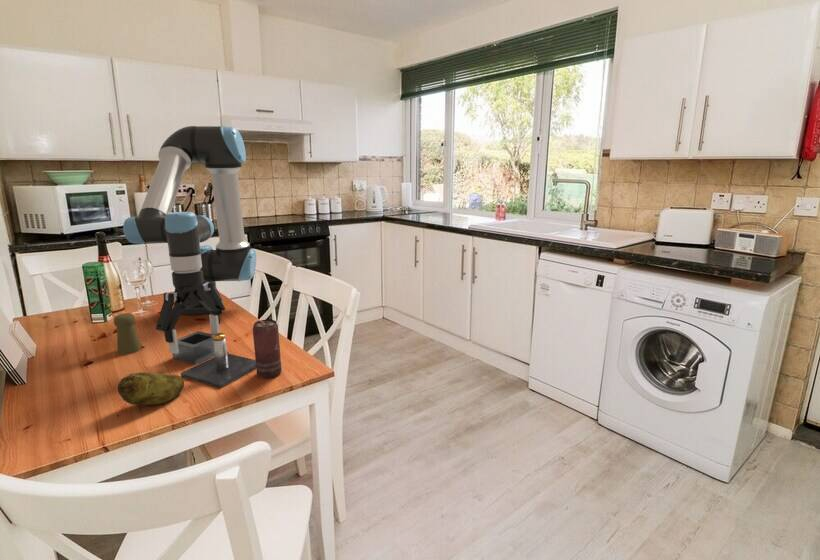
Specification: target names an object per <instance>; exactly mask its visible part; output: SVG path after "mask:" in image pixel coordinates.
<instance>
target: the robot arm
mask: <svg viewBox="0 0 820 560" xmlns="http://www.w3.org/2000/svg"><path fill="white" fill-rule="evenodd" d="M246 155H247V152H246V147H245V143H244V139H243V137H242V135H241V133H240V131H239V130H238V129H237V128H235V127H234V126H223V125H219V126H214V125H212V126H210V125H208V126H206V125H205V126H203V125H202V126H198V125H197V126H196V125H191V126H185V127H182V128H179V129H178V130H176V131H175V132H173V133H172V134H171V135H169V136H168V137H167V138H166V139H165V140H164V141H163V143H162V144H161V146H160V149H159V151H158V155H157V156H158V160H159V162H158V164H157V167H156V170H155V171H154V175H153V176H152V180H151V182H150V185H149V188H148V190H147V193H146V195H145V198H144V201H143V203H142V206H141V208H140V210H139V213H138V216H128V217H127V218H126V219H124V221H123V227H122V230H123V234H124V236H125V237H124V238H125V239H126V240H127V241H128V242H129V243H131V244H140V245H147V244H148V245H149V244H152V245H153V244H167V248H168V256H169V264H170V270H171V271H172V273H171V279H172V284H173V287H174V290H173V291H174V292H164V293H163V303H162V305H161V309H160V312H159V316H158V320H157V323H156V326H155V329H156V331H157V330H158V331H161V332H164V338H165V339H164V340H165V342H166V343H167V344H168V348H169V349H168V351H169V353H171V354H172V353H174V354H178V353H179V348H178V341H177V339H178V335H177V334H178V333H177V330H176V329H175V326H176V325H177V322H178V321H179V319H180V317H181V315H182V314H183V315H186V316H187V315H190V316H195V315H206V314H209V316H208V317H209V327H210V334H213V335H214V334H217V333H221V332H220V324H221V318H220V317H221V316H222V314H223V311H225V310H226V307H225V305H224V301H223V298H222V297H221V294H220V292H219V290H218V289H217V283H216V282H241V281H243V282H244V281H250V280H252V278H254V275H255V272H256V267H257V251H256V249H254V248H251V245H250V242H248V240H246V239H245V238H246V237H245V229H244V219H243V211H242V202H241V201H242V200H241V193H240V192H241V191H240V184H239V183H240V182H239V174H238V173H239V171H240V170H241V169H242V164H243V163H245V162H246V160H247V156H246ZM194 163H204V167H205V170H207V172H209V173H210V176H211V177H210V178H211V183H212V184H211V186H212V192H213V199H214V209H215V215H216V224H217V225H216V226H217V231H218V237H219V241H218V243H217V244H215V249H213V247H212V246H211V245H210V244H209V245H208V244H205V245H204V244H203V245H200V243H204V242H207V240H209V239H210V238H211V237H212V236H213V235H214V231H215V225H214V223H213V221H212V220H211V219H210V218H209V217H207V216H205V215H202V214H201V215H198V214H195V212H193V211H175V212H172V211H173V207H174V205H175V202H176V199H177V195H178V194H179V190H180V187H181V184H182V181H183V178H184V175H185V172H186V171H187V170H188V169H189V168H190V167H191V165H192V164H194Z"/></svg>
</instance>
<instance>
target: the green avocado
mask: <svg viewBox="0 0 820 560" xmlns="http://www.w3.org/2000/svg"><path fill="white" fill-rule="evenodd" d="M184 387H185V381H184V377H181V375H178V374H173V373H159V372H157V373H156V372H150V371H149V372H148V371H137V372H132V373H130V374H128V375H126V376H125V377H123V378H121V379H120V381H119V382H118V385H117V392H118V395H119V396H120V397H121V399H122V400H123V401H125V402H126V403H129V404H130V405H134V406H135V405H136V406H137V405H149V406H150V405H151V406H156V405H161V404H164V403H167V402H169V401H171V400H173V399H175V398H176V397H177V396H178V395H180V394H181V392H182V391H183V390H184V389H185V388H184Z"/></svg>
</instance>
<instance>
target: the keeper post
mask: <svg viewBox="0 0 820 560" xmlns="http://www.w3.org/2000/svg"><path fill="white" fill-rule="evenodd" d="M213 344H214V352H215V356H213V357H211V358H209V359H207V360H205V361H203V362H200V363H198V364H196V365H195V366H192V367H190V368H188V369H186V370H185V371H182V372H180V377H182V378H183V379H184V378H185V379H188V380H192V381H194V382H199V383H203V384H205V385H209V386H212V387H216V388H219V389H222V388H224V387H226V386H228V385H229V384H232V383H233V382H235V381H237V380H239V379H240V378H243V377H244V376H246V375H247V373H248V374H249V373H251V372H252V371H254V369H255V370H256V359H252V358H249V357H244V356H241V355H240V356H239V355H236V354H231V353H228V347H227V339H226V333H224V332H220V333H217V334H214V335H213ZM245 374H246V375H245Z"/></svg>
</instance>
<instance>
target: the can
mask: <svg viewBox="0 0 820 560" xmlns="http://www.w3.org/2000/svg"><path fill="white" fill-rule="evenodd" d="M252 335H253V337H252V338H253V346H254V348H253V349H254V357H255V358H254V360H256V369H255V371H256V375H257V376H258V377H259V378H260V377H262V378H261V379H272V378H271V377H273V378H276V377H278V376H279V375H280V374H281V372H282V361H281V360H282V358H281V348H280V347H281V345H280V344H281V343H280V332H279V324H278V322H277V321H276V320H274V319H261V320H260V319H259V320H257V321H256V322H254V323H253V326H252ZM277 375H278V376H277ZM275 376H276V377H275Z"/></svg>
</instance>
